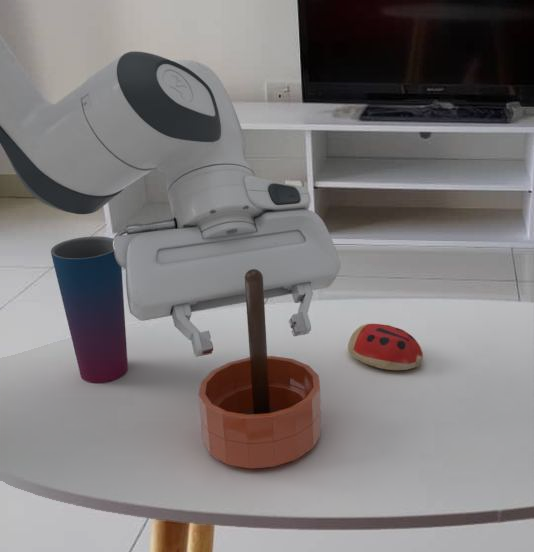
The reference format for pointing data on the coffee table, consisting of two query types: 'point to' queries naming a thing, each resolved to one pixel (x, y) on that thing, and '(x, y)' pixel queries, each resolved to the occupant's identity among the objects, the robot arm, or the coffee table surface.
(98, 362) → the cup
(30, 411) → the coffee table surface
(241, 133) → the robot arm
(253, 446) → the bowl
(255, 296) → the brown rod
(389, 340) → the ladybug figurine
